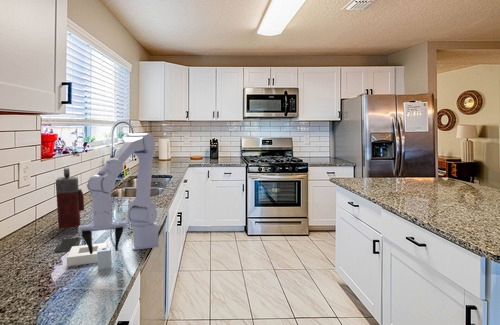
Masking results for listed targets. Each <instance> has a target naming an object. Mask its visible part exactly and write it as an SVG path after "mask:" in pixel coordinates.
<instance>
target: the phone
mask: <svg viewBox="0 0 500 325" xmlns="http://www.w3.org/2000/svg"><path fill="white" fill-rule="evenodd" d="M81 240H82V239H81V237H70V238H63V239H59V241H58V242H57V245H56V247H55V249H54V253H65V252H70V250H71V248H72V246H80V243H81Z"/></svg>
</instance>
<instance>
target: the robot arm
mask: <svg viewBox="0 0 500 325" xmlns="http://www.w3.org/2000/svg"><path fill="white" fill-rule="evenodd" d="M122 142H123V144H122V146H121V147H120V149H119V150H118V152H117V153H116V155H115V156H114V158H109V159H106V161H105V164H104V165H103V166H102V167H101V169H99V171H98V172H97V174H94V175H92V176H91V177H89V179H88V181H87V184H86V187H87V190H88V191H89V195H90V197H91V204H92V205H91V206H92V222H93V223H89V224H83V225H80V226H79V227H77V231H78V234H81V237H82V238H83V240H84V241H85V243H86V245H87V246H88V248H89V251H90V254H92V253H93V246H92V244H93V238H92V237H93V236H92V235H93V232H98V231H109V230H114V240H115V245H114V246H115V248H114V249H115V252H117V251H118V250H119V243H120V239H121V237H122V235H123V232H124V229H127V221H113V215H112V214H113V212H112V191H113V190H115V185H116V182H117V178H118V177H119V176H120V174H121V173H122V171H123V170H124V163H125V162H126V161H127V160H128V159H129V157H131V156H132V154H133V155H134V156H136V157H137V159H138V164H137V165H138V166H137V168H138V169H137V176H136V189H135V190H136V191H135V199H134V200H133V201H131V202H130V203H129V208H128V210H127V218H128V221H129V222H130V224H131V225H132V235H133V236H132V237H133V242H132V250H133V251H134V250H135V251H136V250H145V249H151V248H154V249H155V248H158V247H159V246H160V245H159V241H160V239H159V237H160V236H159V226H158V222H155V221H156V220H157V214H158V213H157V207H156V206H157V204H156V203H155V202H154V201H153V200H152V199H151V188H152V177H153V176H152V174H153V161H154V155H155V150H156V148H155V147H156V139H155V137H154V136H153V134H152V133H149V132H148V133H130V132H129V133H127V134H126V135H125V137H124V138H122Z"/></svg>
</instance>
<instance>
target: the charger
mask: <svg viewBox="0 0 500 325" xmlns="http://www.w3.org/2000/svg"><path fill="white" fill-rule="evenodd" d="M97 259H98V262H97V270H98V271H100V270H106V269H112V265H113V262H112V260H113V258H112V246H108V247H103V248H98V250H97Z"/></svg>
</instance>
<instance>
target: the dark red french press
mask: <svg viewBox="0 0 500 325" xmlns="http://www.w3.org/2000/svg"><path fill="white" fill-rule="evenodd" d="M70 171H71V170H70V168H68V167H67V168H66V167H65V168H63V177H60V176H59V177H57V178H56V179H55V191H56V192H55V193H56V206H57V207H56V209H57V221H58V222H57V223H58V229H59V230H62V229H61V228H64V229H71V228H70V227H73V228H78V226H81V211H82V212H83V211H85V201H84V200H85V197H84V192H83V190H82V188H79V178H78V176H71V174H70V173H71V172H70Z"/></svg>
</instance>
